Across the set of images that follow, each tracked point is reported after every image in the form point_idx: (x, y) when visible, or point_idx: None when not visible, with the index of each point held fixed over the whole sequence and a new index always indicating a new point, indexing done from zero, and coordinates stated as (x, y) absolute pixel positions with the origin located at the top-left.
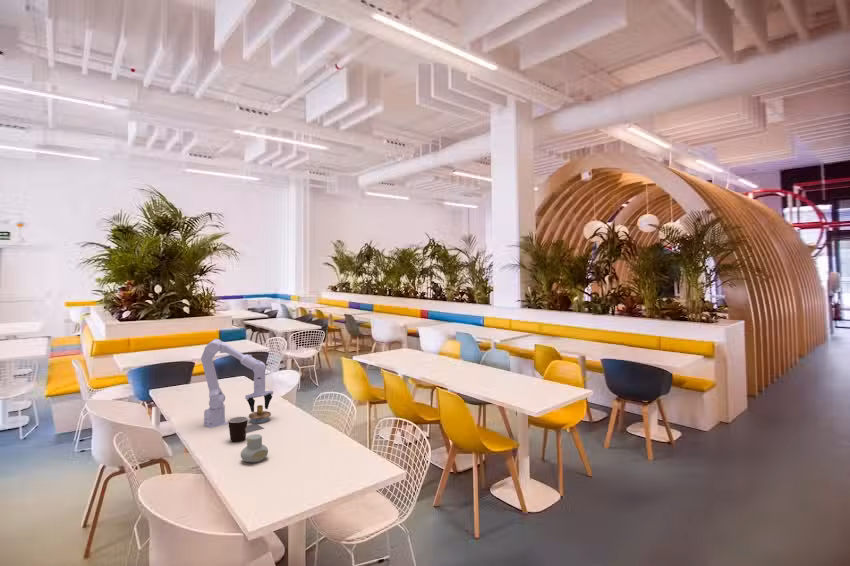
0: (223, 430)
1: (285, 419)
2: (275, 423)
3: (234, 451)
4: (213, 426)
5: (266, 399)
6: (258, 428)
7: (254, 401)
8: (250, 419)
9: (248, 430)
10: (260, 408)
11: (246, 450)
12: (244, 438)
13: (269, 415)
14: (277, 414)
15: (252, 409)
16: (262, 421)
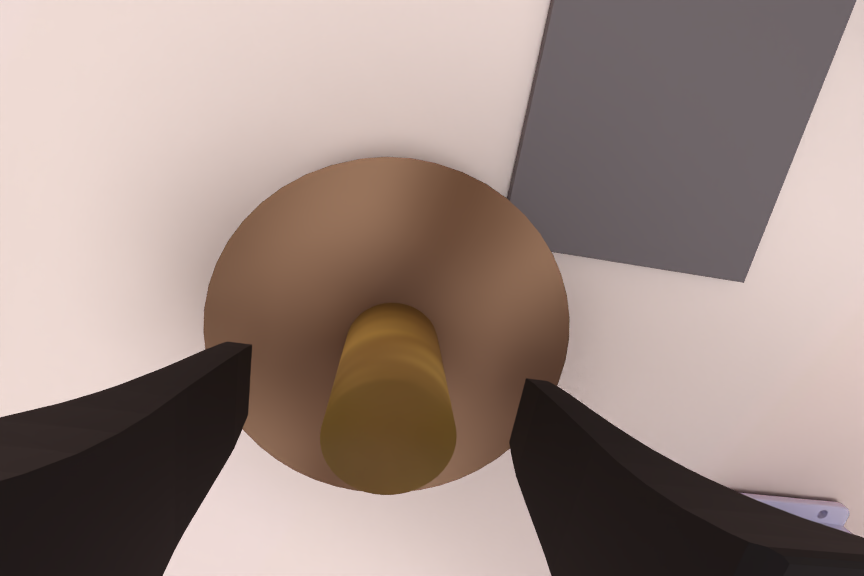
0: (828, 353)
1: (64, 62)
2: (293, 29)
3: None
4: (813, 505)
5: (114, 544)
6: (622, 14)
7: (710, 521)
8: None
9: (747, 69)
10: (413, 359)
11: None
12: None
13: (297, 180)
14: (61, 366)
15: (582, 410)
16: None
